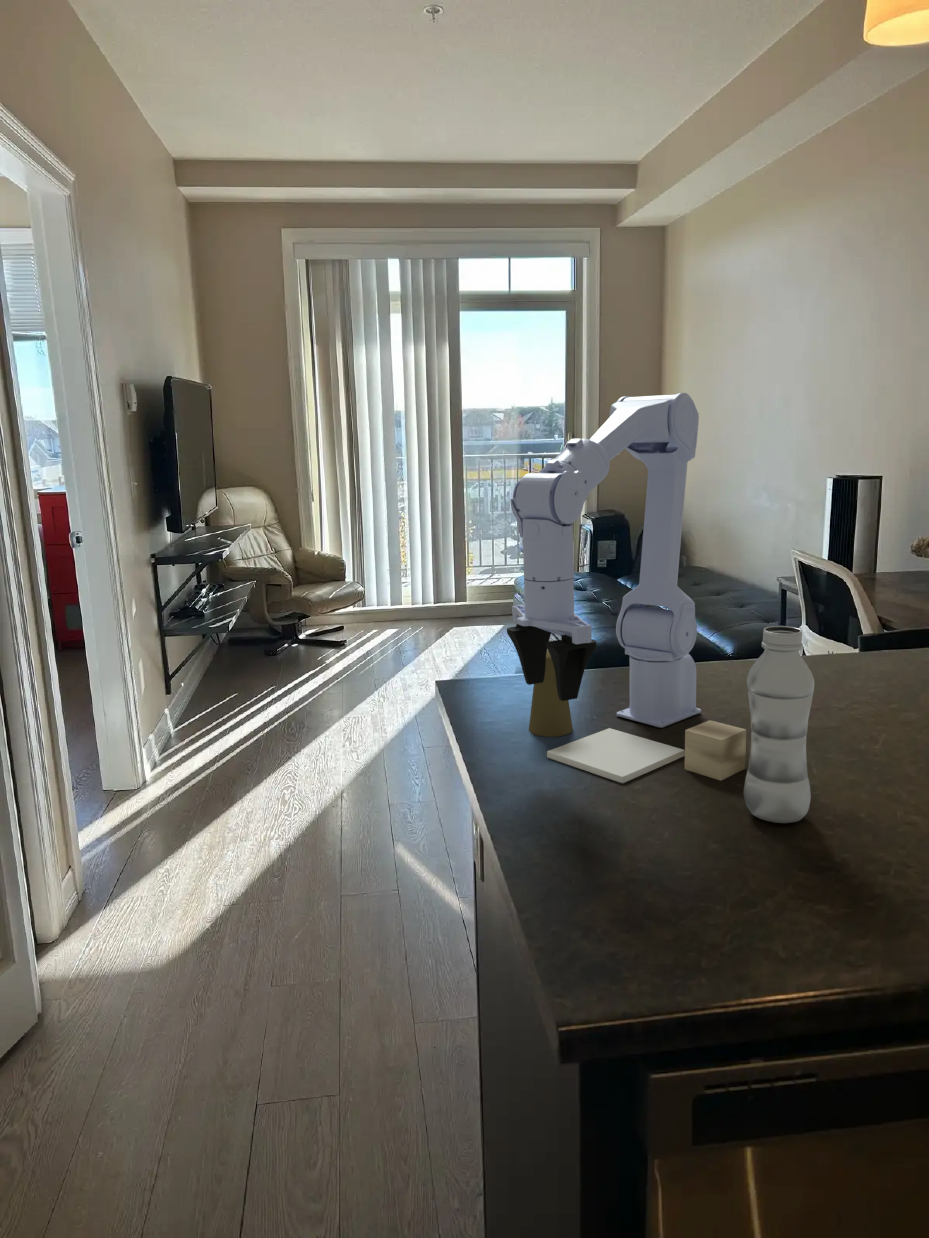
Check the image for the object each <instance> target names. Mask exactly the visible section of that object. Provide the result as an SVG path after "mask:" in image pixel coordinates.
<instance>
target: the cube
mask: <svg viewBox="0 0 929 1238" xmlns="http://www.w3.org/2000/svg"><path fill="white" fill-rule="evenodd" d="M746 745H747V729H746V728H741V727H738V726H734V725H730V724H727V723H726V724H725V723H722V722H717V721H714V720H711V719H710V720H707V721H704V722H701V723H699V724H697V725H694V726H692V727H689V728H687V729H685V730H684V750H685V756H684V770H686V771H689V772H692V773H696V774H698V775H701V776H705V777H709V778H711V779H715V780H718V781H720V782H721V781H723V780H725V779H727V778H730V777H731V776H733V775H735V774H737V773H739V772H742V771H744V770H745V769H746V752H747V751H746V749H747V748H746V747H747V746H746Z"/></svg>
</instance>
